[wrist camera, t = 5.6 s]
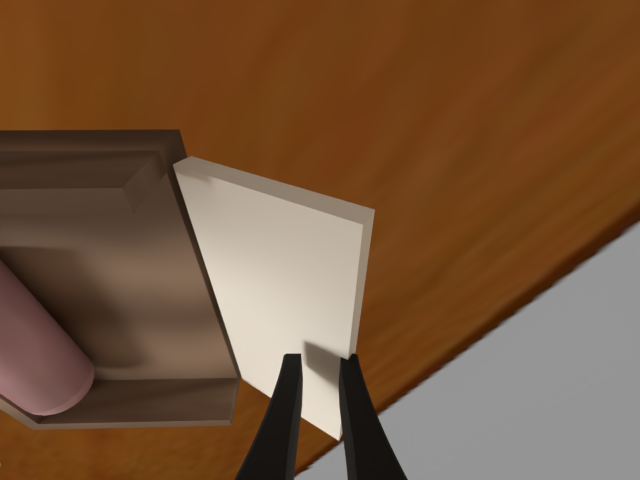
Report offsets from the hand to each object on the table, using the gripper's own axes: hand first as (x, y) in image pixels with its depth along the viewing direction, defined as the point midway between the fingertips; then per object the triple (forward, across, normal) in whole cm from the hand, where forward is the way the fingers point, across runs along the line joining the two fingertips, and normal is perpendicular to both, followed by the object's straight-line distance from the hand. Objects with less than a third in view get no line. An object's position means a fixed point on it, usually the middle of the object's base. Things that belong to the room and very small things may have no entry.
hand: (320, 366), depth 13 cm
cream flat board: (+3, -5, 0) cm, 6 cm away
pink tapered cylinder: (+3, -14, 0) cm, 14 cm away
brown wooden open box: (+5, -11, 0) cm, 12 cm away
